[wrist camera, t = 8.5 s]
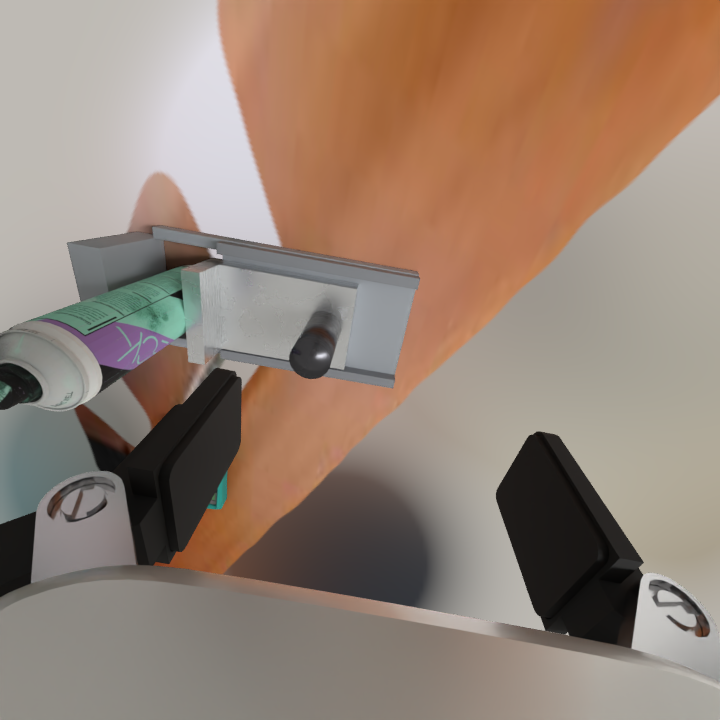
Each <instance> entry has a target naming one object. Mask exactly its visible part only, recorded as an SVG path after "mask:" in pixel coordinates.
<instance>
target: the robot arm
mask: <svg viewBox="0 0 720 720" xmlns="http://www.w3.org/2000/svg"><path fill="white" fill-rule="evenodd" d="M241 383H242V382H241V378H240V377H237V376H236V372H235V371H230V370H225V369H220V368H215V369H214V370H213V371H212V372H211V373H210V375H209V376H208V377H207V378H206V379H205V380H204V381H203V382H202V383H201V385H200V386H199V387H198V388H197V389H196V390H195V391H194V392H193V393H192V394H191V396H190V397H189V398H188V399H187V400H186V401H185V402H184V403H183V404H178V405H175V406H174V407H173V408H172V409H171V410H170V411H169V412H168V413H167V414H166V415H165V416H164V417H163V419H162V420H161V421H160V422H159V423H158V424H157V425H156V426H155V427H154V428H153V429H152V430H151V431H150V432H149V434H148V435H147V436H146V437H145V438H144V439H143V440H142V441H141V442H140V443H139V444H138V445H137V446H136V447H135V449H134V450H133V451H132V452H131V453H130V454H129V455H128V456H127V457H126V458H125V459H124V460H123V461H122V462H121V464H120V465H119V466H118V467H117V468H116V469H115V470H114V471H113V472H112V473H110V472H107V471H93V472H88V473H82V474H79V475H77V476H74V477H71V478H69V479H67V480H65V481H63V482H62V483H60V484H58V485H56V486H55V487H54V488H53V489H52V490H50V491H49V492H48V493H47V494H46V495H45V496H44V498H43V499H42V500H41V502H40V503H39V506H38V509H37V511H36V512H33V513H31V514H28V515H25V516H22V517H20V518H17V519H14V520H11V521H8V522H6V523H3V524H0V720H720V635H719V632H718V629H717V625H716V624H715V622H714V620H713V618H712V617H711V615H710V614H709V612H708V611H707V610H706V609H705V608H704V606H703V605H702V604H701V603H700V602H699V601H698V600H697V599H696V598H695V597H694V596H693V595H692V594H691V593H690V592H688V591H687V590H686V589H685V588H683V587H682V586H681V585H680V584H678V583H676V582H675V581H673V580H671V579H670V578H668V577H665V576H663V575H660V574H657V573H647V574H645V575H643V574H642V573H641V571H640V570H639V567H640V566H641V565H642V564H643V563H644V562H643V561H642V559H641V558H640V556H639V555H638V553H637V552H636V550H635V549H634V547H633V546H632V544H631V543H630V541H629V540H628V538H627V537H626V535H625V534H624V532H623V531H622V529H621V528H620V527H619V525H618V523H617V522H616V520H615V519H614V518H613V516H612V514H611V513H610V512H609V510H608V509H607V507H606V506H605V504H604V503H603V501H602V500H601V498H600V497H599V495H598V494H597V492H596V491H595V489H594V488H593V486H592V485H591V483H590V482H589V480H588V479H587V477H586V476H585V474H584V473H583V471H582V470H581V469H580V467H579V465H578V464H577V463H576V461H575V459H574V458H573V457H572V455H571V454H570V452H569V451H568V449H567V448H566V446H565V445H564V443H563V442H562V440H561V439H560V437H559V436H557V435H555V434H550V433H545V432H536V433H534V434H533V435H530V436H529V437H528V438H527V440H526V441H525V443H524V445H523V446H522V448H521V450H520V451H519V454H518V455H517V456H516V458H515V460H514V462H513V463H512V465H511V467H510V468H509V470H508V472H507V474H506V475H505V477H504V479H503V480H502V482H501V484H500V485H499V487H498V489H497V492H496V500H497V503H498V506H499V509H500V512H501V515H502V518H503V521H504V524H505V527H506V529H507V532H508V535H509V538H510V541H511V544H512V547H513V550H514V553H515V555H516V559H517V561H518V564H519V567H520V570H521V573H522V576H523V579H524V582H525V585H526V588H527V591H528V593H529V596H530V599H531V602H532V605H533V608H534V610H535V612H536V613H537V615H539V616H541V619H542V622H543V625H544V628H545V631H542V630H536V629H531V628H525V627H520V626H514V625H509V624H503V623H498V622H493V621H487V620H482V619H476V618H470V617H465V616H459V615H454V614H448V613H443V612H437V611H431V610H426V609H420V608H415V607H408V606H404V605H398V604H392V603H387V602H381V601H375V600H370V599H364V598H358V597H353V596H347V595H341V594H335V593H329V592H324V591H318V590H312V589H306V588H300V587H294V586H289V585H283V584H276V583H271V582H265V581H260V580H253V579H248V578H241V577H235V576H228V575H222V574H215V573H208V572H202V571H195V570H189V569H181V568H171V567H161V566H153V565H154V563H155V562H160V563H166V564H169V563H170V562H171V560H172V558H173V556H174V555H175V553H176V551H178V552H182V551H183V550H184V549H185V547H186V545H187V544H188V542H189V540H190V538H191V536H192V534H193V533H194V531H195V529H196V527H197V525H198V523H199V522H200V520H201V518H202V516H203V514H204V512H205V511H206V509H207V507H208V505H209V503H210V501H211V499H212V498H213V496H214V494H215V492H216V490H217V488H218V487H219V485H220V483H221V481H222V479H223V477H224V476H225V474H226V472H227V470H228V468H229V466H230V465H231V463H232V461H233V459H234V457H235V455H236V454H237V452H238V449H239V446H240V442H241V385H242V384H241ZM547 631H549V632H547ZM553 632H554V633H553ZM567 632H568V633H569V636H568V635H563V634H566V633H567ZM558 633H560V634H558Z"/></svg>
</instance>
